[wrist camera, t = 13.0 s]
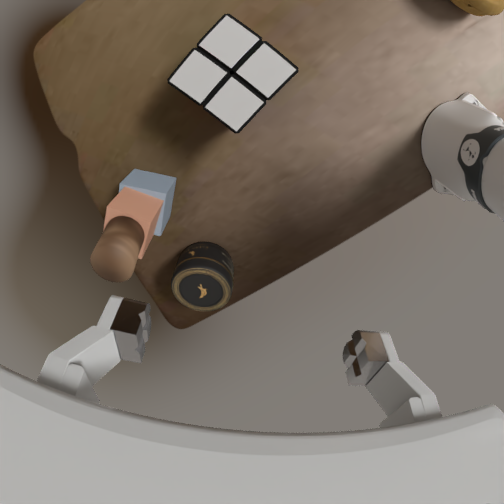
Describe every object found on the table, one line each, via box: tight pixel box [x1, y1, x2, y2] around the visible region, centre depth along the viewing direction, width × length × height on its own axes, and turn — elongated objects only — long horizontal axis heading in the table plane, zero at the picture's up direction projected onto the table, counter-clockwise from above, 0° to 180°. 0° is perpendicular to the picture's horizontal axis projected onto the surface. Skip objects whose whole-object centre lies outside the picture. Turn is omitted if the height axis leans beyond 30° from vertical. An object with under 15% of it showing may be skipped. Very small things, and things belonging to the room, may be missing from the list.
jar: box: [171, 242, 234, 311], centre depth 49 cm, size 10×10×8 cm
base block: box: [119, 169, 176, 236], centre depth 42 cm, size 7×7×6 cm
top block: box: [103, 187, 164, 259], centre depth 37 cm, size 6×6×6 cm
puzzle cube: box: [167, 14, 298, 133], centre depth 30 cm, size 10×10×10 cm
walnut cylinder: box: [90, 216, 145, 282], centre depth 32 cm, size 5×5×6 cm
